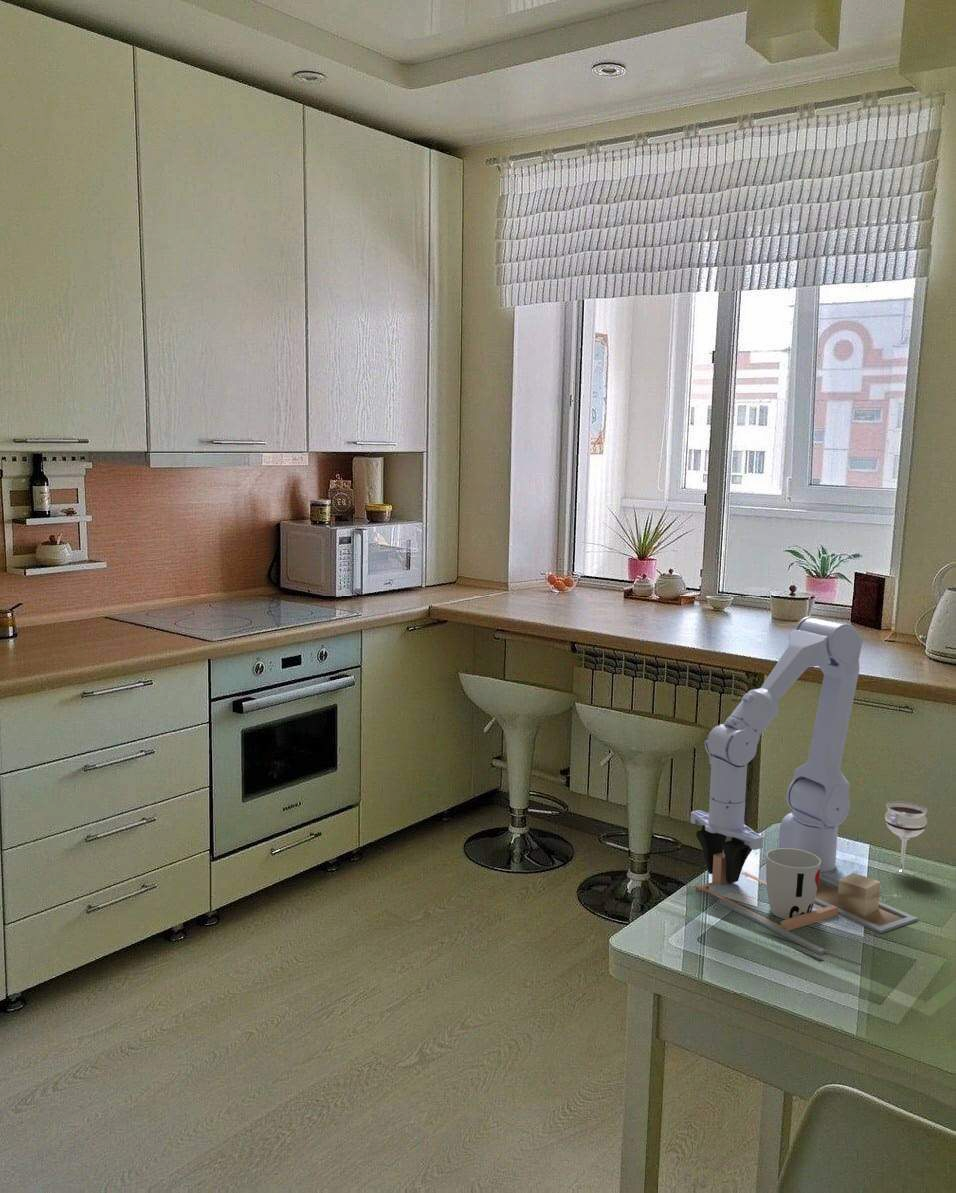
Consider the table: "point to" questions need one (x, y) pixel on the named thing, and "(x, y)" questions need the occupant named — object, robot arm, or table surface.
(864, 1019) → the table surface
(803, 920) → the cup sled
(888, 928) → the lane frame
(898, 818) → the wineglass
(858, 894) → the beech cube
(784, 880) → the cup
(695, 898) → the table surface
